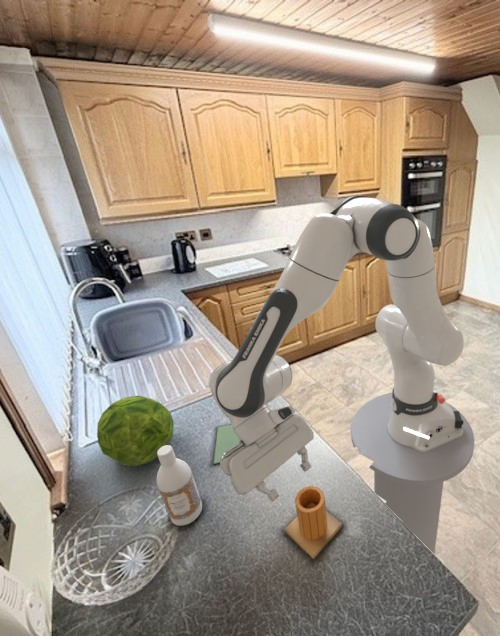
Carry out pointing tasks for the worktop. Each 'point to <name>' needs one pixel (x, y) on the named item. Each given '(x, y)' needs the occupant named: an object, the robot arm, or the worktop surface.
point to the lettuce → (134, 430)
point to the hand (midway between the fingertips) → (292, 483)
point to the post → (318, 544)
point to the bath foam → (177, 488)
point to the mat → (224, 441)
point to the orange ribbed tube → (311, 512)
